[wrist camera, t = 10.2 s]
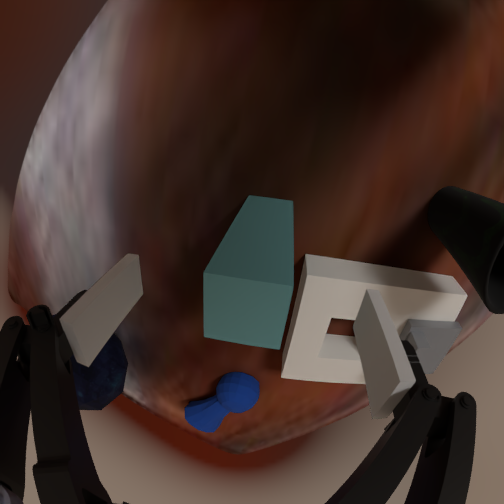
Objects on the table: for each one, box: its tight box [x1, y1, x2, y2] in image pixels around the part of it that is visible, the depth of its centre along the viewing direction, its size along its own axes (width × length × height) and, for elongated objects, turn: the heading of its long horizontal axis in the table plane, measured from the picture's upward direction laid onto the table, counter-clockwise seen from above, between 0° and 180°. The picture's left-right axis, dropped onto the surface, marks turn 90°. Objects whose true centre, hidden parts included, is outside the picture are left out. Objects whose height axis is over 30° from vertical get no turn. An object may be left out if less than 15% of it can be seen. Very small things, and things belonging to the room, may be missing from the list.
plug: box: [203, 195, 294, 350], centre depth 19 cm, size 4×4×14 cm
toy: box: [185, 372, 259, 432], centre depth 36 cm, size 7×6×15 cm
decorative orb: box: [52, 314, 128, 410], centre depth 30 cm, size 14×15×15 cm
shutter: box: [399, 319, 462, 374], centre depth 23 cm, size 7×7×4 cm
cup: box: [428, 186, 504, 314], centre depth 17 cm, size 8×8×12 cm
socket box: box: [281, 254, 468, 384], centre depth 27 cm, size 14×18×4 cm
